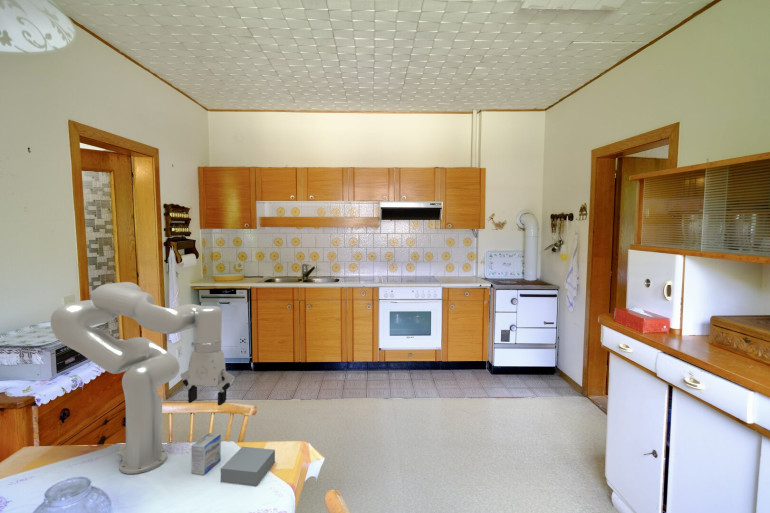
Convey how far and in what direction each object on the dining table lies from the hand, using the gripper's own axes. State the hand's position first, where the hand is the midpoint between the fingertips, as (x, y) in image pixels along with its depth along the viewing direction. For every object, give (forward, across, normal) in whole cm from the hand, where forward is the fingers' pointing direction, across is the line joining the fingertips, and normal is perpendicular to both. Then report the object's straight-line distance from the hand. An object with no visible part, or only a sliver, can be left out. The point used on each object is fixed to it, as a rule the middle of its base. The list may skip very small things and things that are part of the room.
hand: (207, 402), depth 112 cm
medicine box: (+20, 0, 0) cm, 20 cm away
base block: (+20, +14, 0) cm, 24 cm away
